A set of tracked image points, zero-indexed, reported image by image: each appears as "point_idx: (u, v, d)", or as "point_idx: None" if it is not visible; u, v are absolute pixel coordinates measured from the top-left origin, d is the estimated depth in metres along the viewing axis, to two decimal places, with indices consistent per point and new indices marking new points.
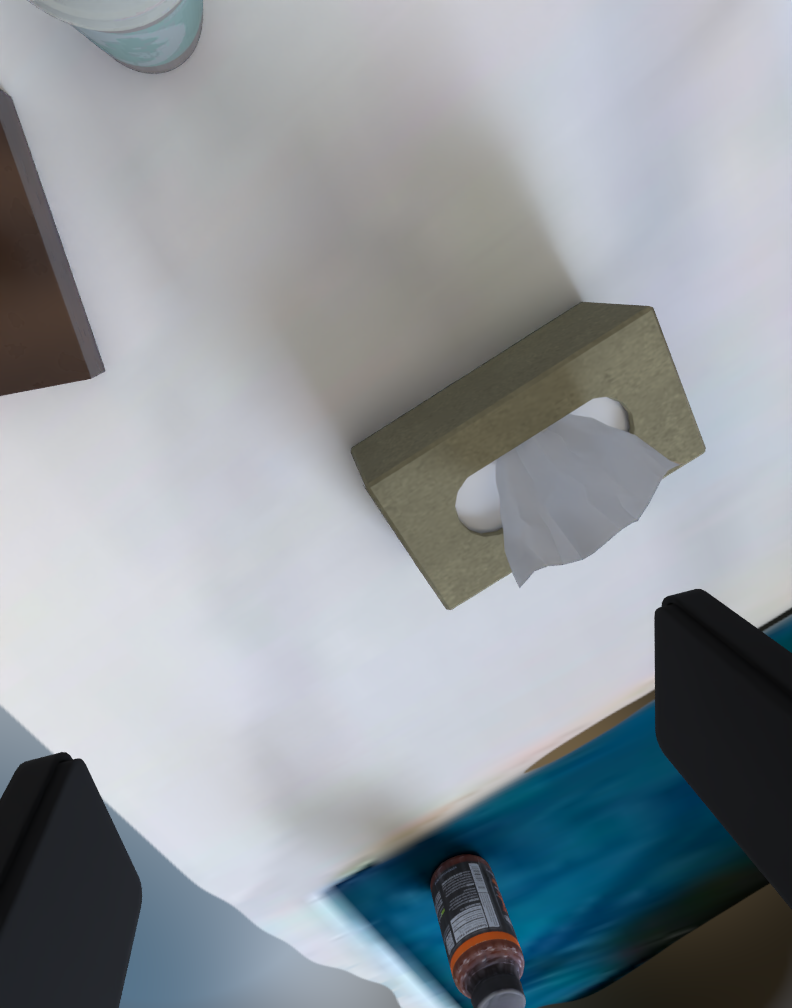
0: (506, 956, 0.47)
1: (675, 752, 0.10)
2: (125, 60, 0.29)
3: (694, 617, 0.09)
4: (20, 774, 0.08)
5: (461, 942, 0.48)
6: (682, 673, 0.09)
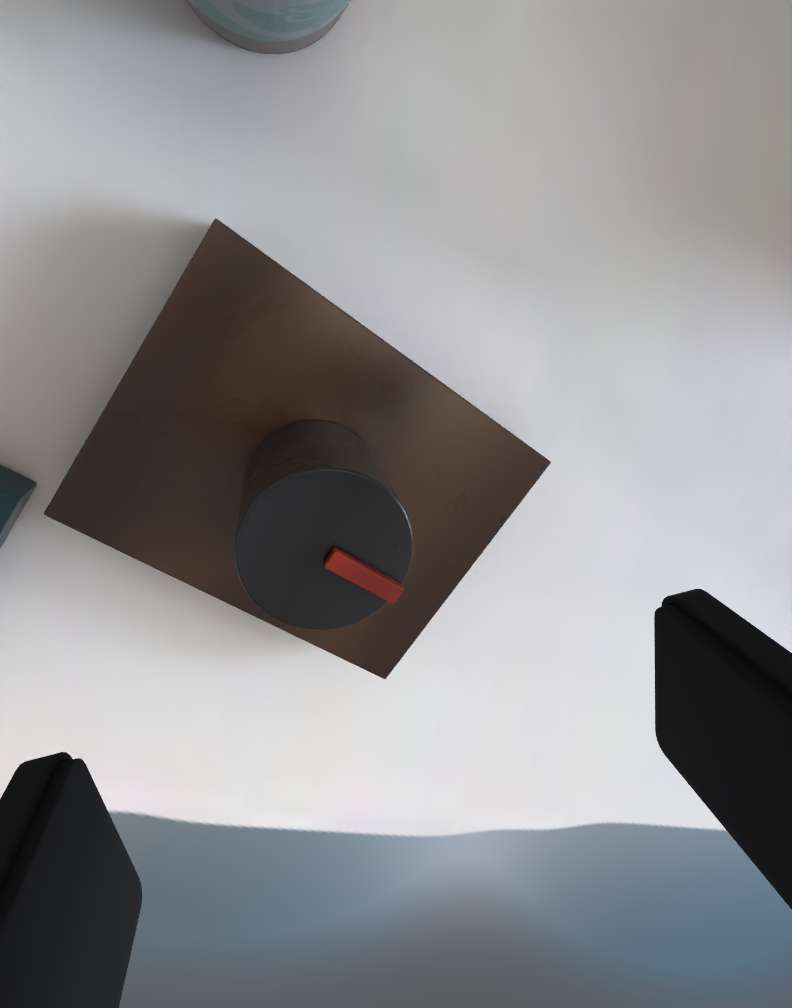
0: None
1: (675, 752, 0.10)
2: (331, 16, 0.17)
3: (694, 617, 0.09)
4: (20, 774, 0.08)
5: None
6: (682, 673, 0.09)
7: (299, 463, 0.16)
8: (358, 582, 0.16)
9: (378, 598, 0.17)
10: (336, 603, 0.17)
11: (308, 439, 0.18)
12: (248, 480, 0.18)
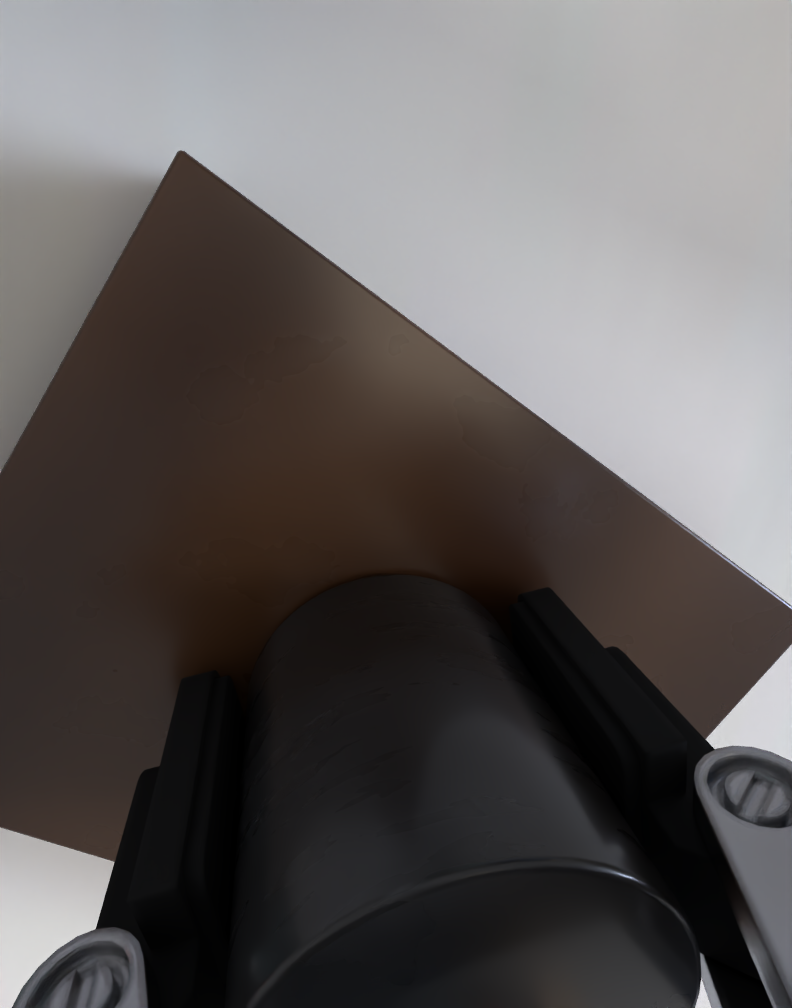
0: None
1: None
2: None
3: (538, 613, 0.10)
4: (185, 685, 0.09)
5: None
6: (528, 664, 0.10)
7: (404, 816, 0.06)
8: None
9: None
10: None
11: (397, 661, 0.08)
12: (257, 759, 0.08)
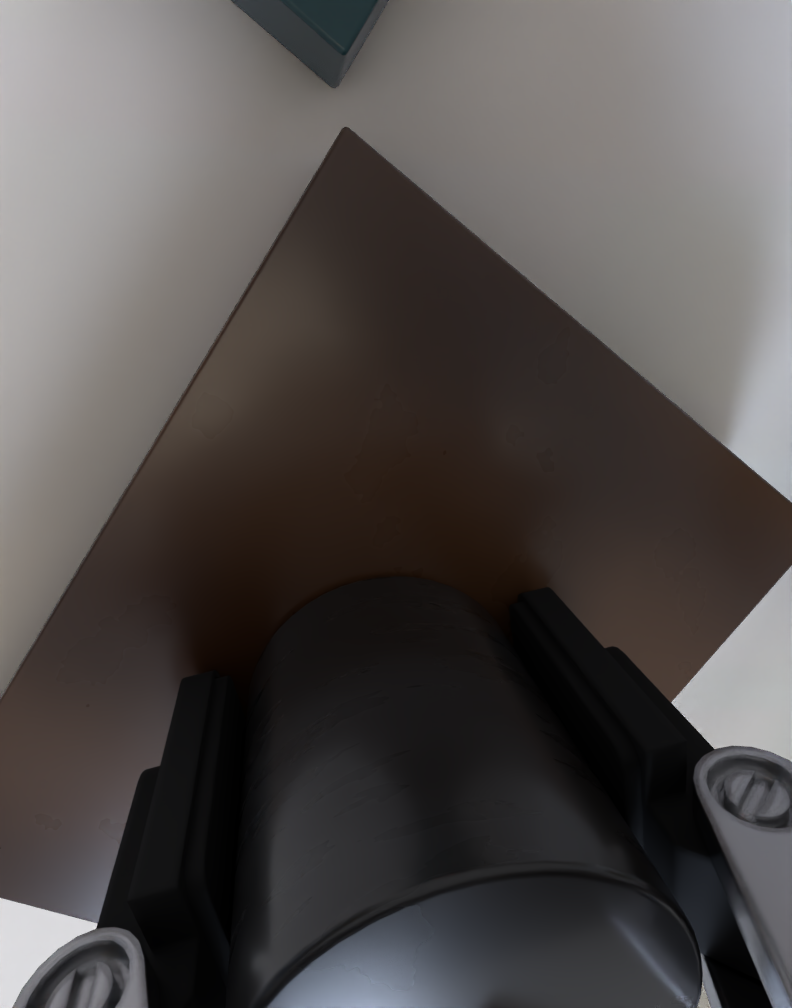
0: None
1: None
2: None
3: (537, 614, 0.10)
4: (185, 685, 0.09)
5: None
6: (528, 664, 0.10)
7: (402, 821, 0.06)
8: None
9: None
10: None
11: (396, 664, 0.08)
12: (257, 763, 0.08)
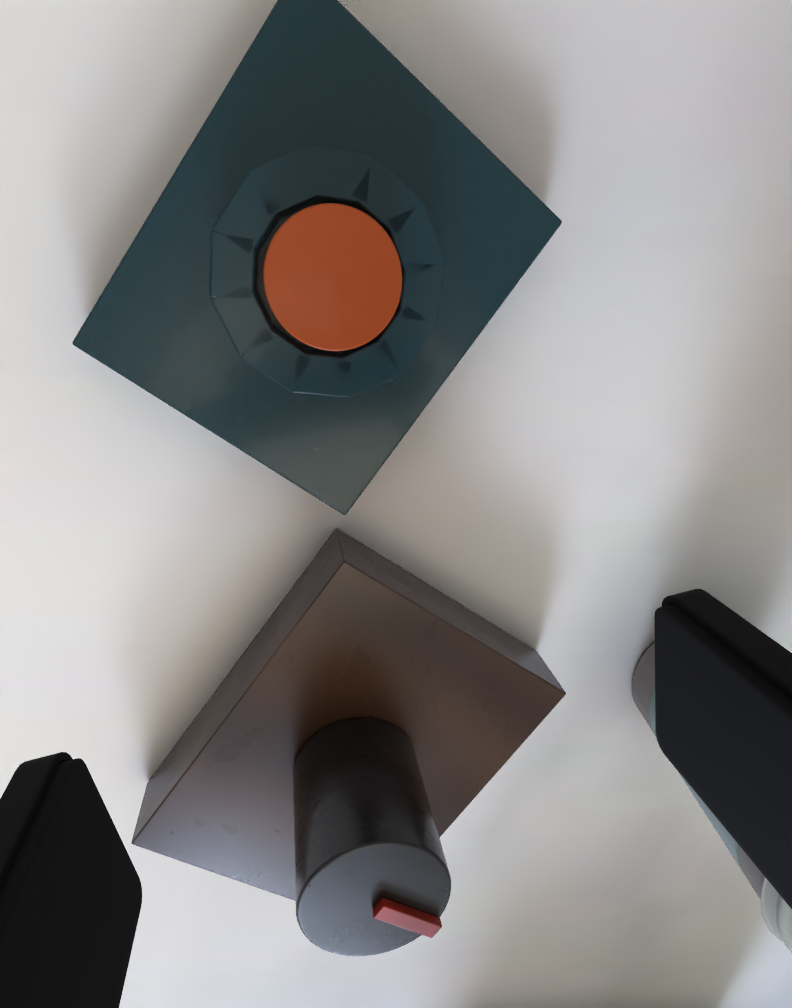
0: None
1: (675, 752, 0.10)
2: None
3: (694, 618, 0.09)
4: (20, 774, 0.08)
5: None
6: (682, 673, 0.09)
7: (354, 827, 0.18)
8: (402, 925, 0.18)
9: None
10: (381, 936, 0.19)
11: (357, 768, 0.20)
12: (302, 803, 0.20)
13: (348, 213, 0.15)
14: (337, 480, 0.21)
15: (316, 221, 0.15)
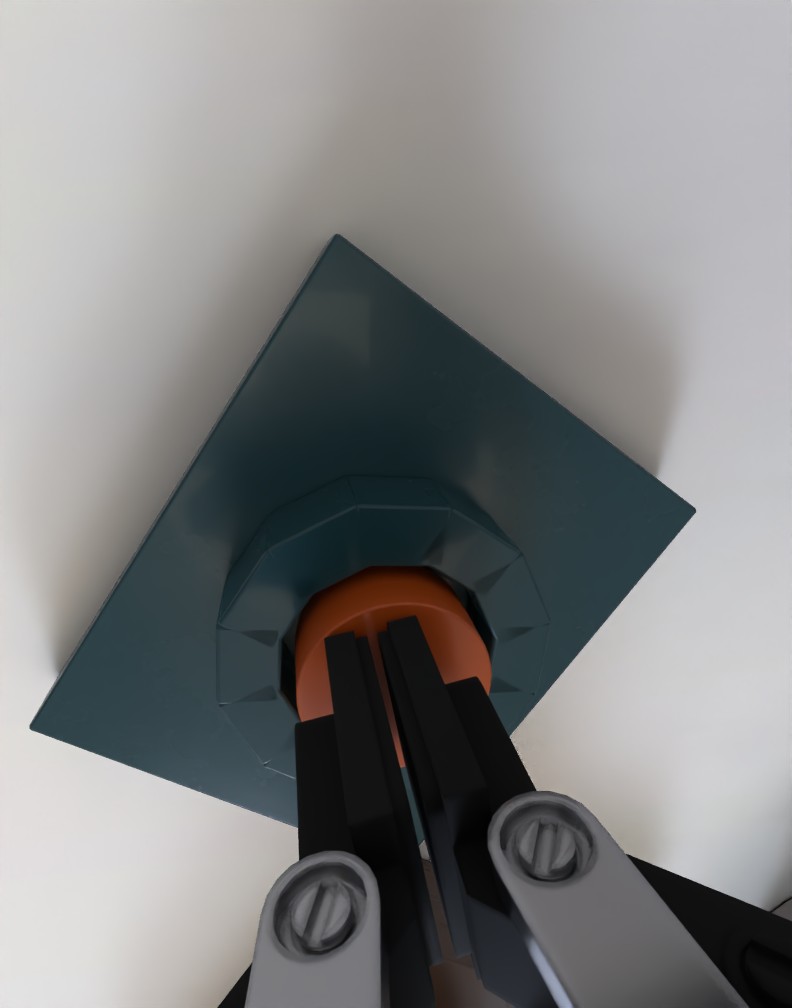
0: None
1: (406, 767, 0.11)
2: None
3: (399, 643, 0.10)
4: (330, 644, 0.10)
5: None
6: (391, 695, 0.10)
7: None
8: None
9: None
10: None
11: None
12: None
13: (417, 612, 0.10)
14: None
15: (371, 627, 0.10)
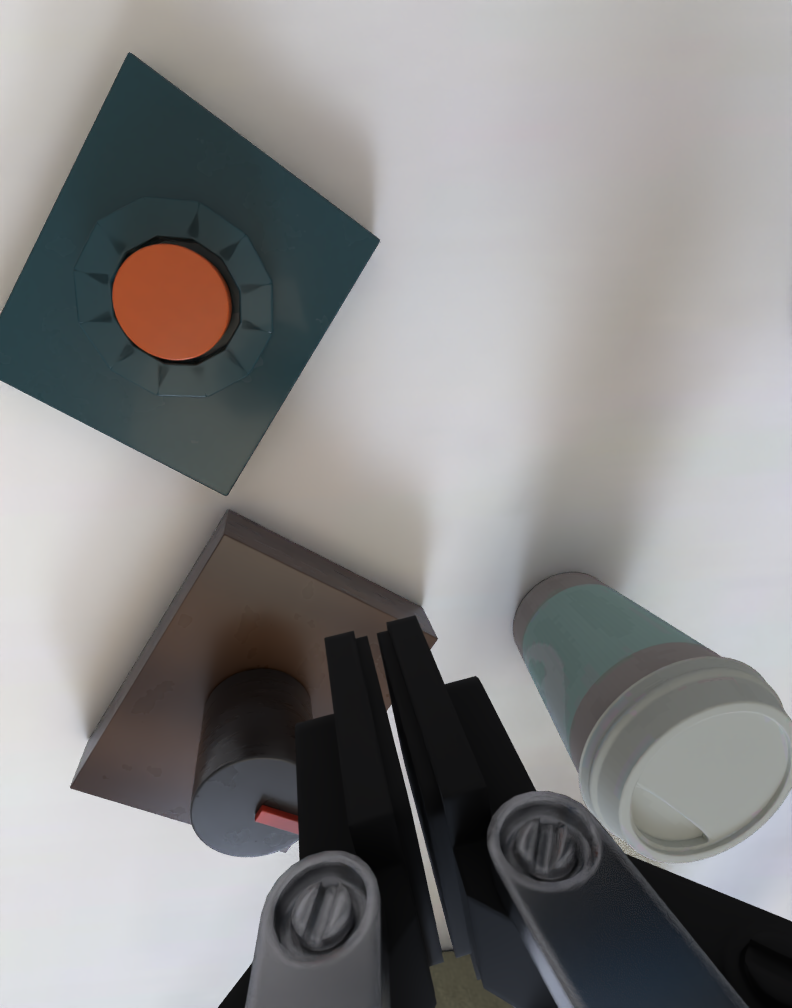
0: None
1: (406, 767, 0.11)
2: None
3: (399, 643, 0.10)
4: (330, 644, 0.10)
5: None
6: (391, 695, 0.10)
7: (233, 748, 0.22)
8: (281, 827, 0.22)
9: None
10: (267, 839, 0.23)
11: (245, 705, 0.24)
12: (202, 738, 0.24)
13: (175, 250, 0.19)
14: (215, 467, 0.25)
15: (150, 258, 0.19)
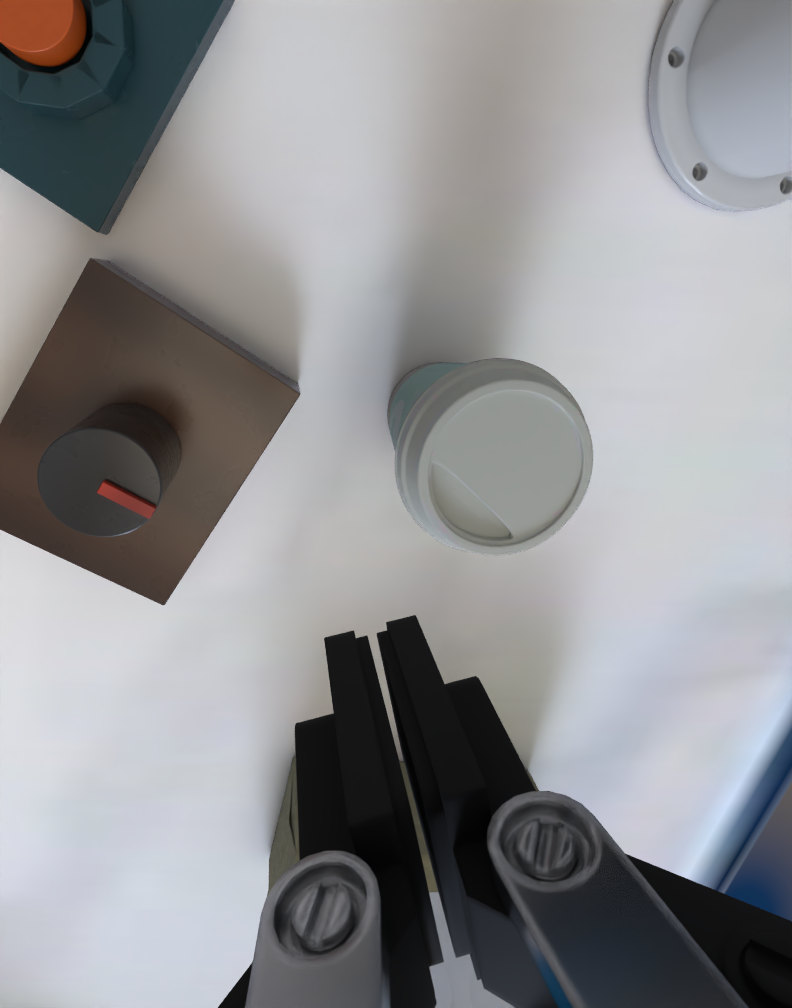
0: None
1: (406, 767, 0.11)
2: None
3: (399, 643, 0.10)
4: (331, 644, 0.10)
5: None
6: (391, 694, 0.10)
7: (79, 426, 0.25)
8: (122, 503, 0.25)
9: (141, 515, 0.26)
10: (112, 518, 0.25)
11: (103, 413, 0.27)
12: None
13: None
14: (86, 200, 0.27)
15: None
